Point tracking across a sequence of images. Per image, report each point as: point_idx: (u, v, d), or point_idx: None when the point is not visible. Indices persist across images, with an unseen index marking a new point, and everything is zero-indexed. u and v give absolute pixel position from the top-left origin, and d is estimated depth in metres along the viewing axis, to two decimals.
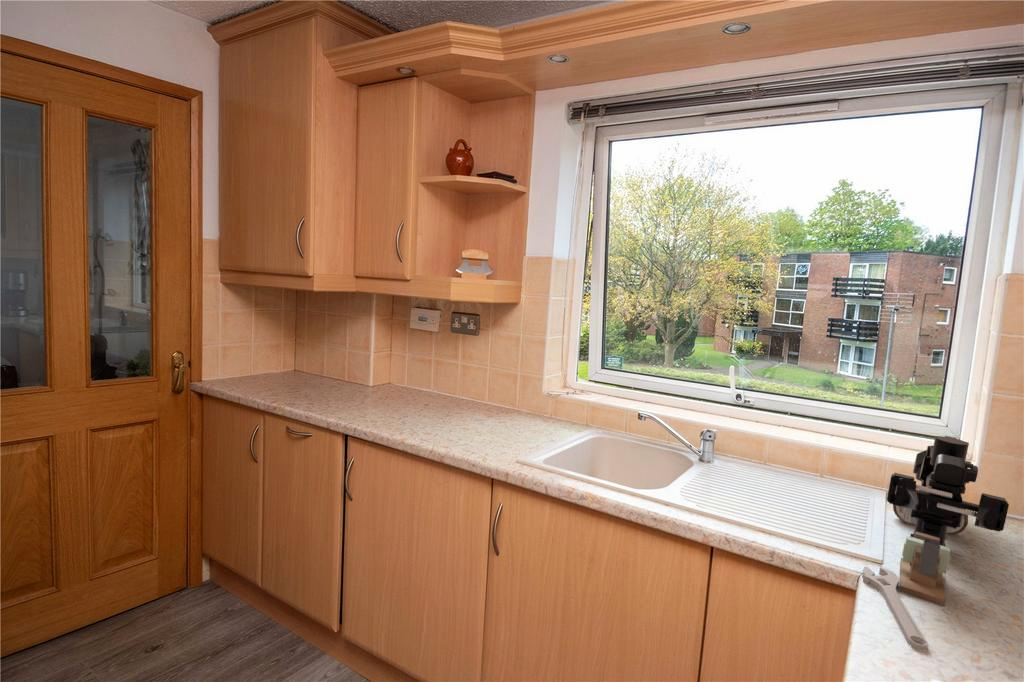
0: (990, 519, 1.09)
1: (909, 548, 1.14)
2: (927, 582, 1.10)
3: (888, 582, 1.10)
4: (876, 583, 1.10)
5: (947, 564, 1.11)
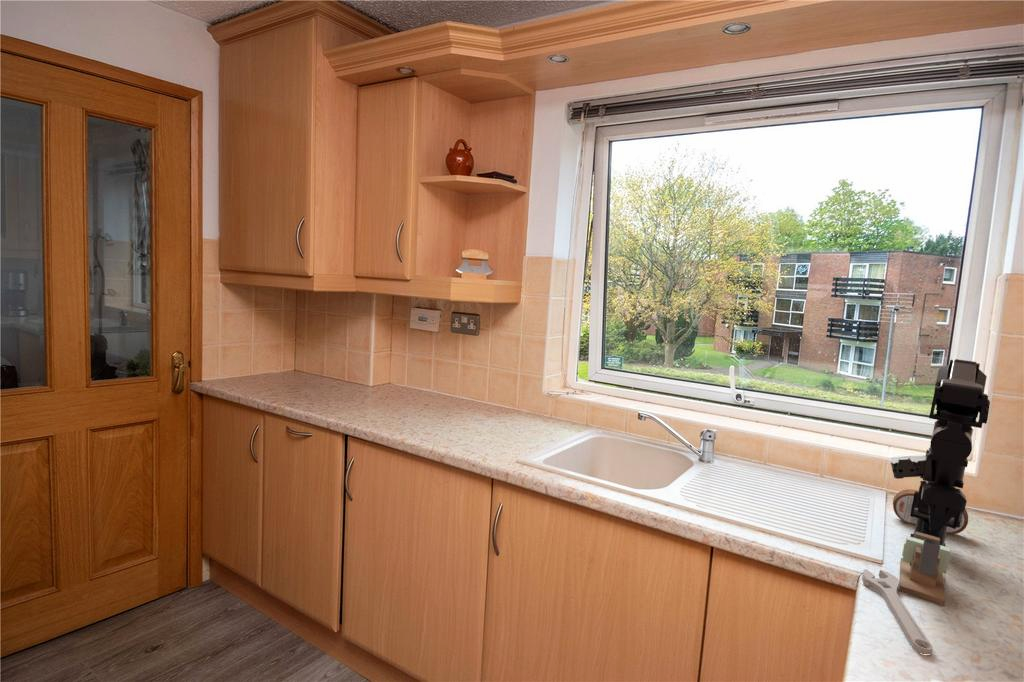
0: None
1: (909, 548, 1.14)
2: (927, 582, 1.10)
3: (889, 585, 1.09)
4: (877, 586, 1.09)
5: (947, 564, 1.11)
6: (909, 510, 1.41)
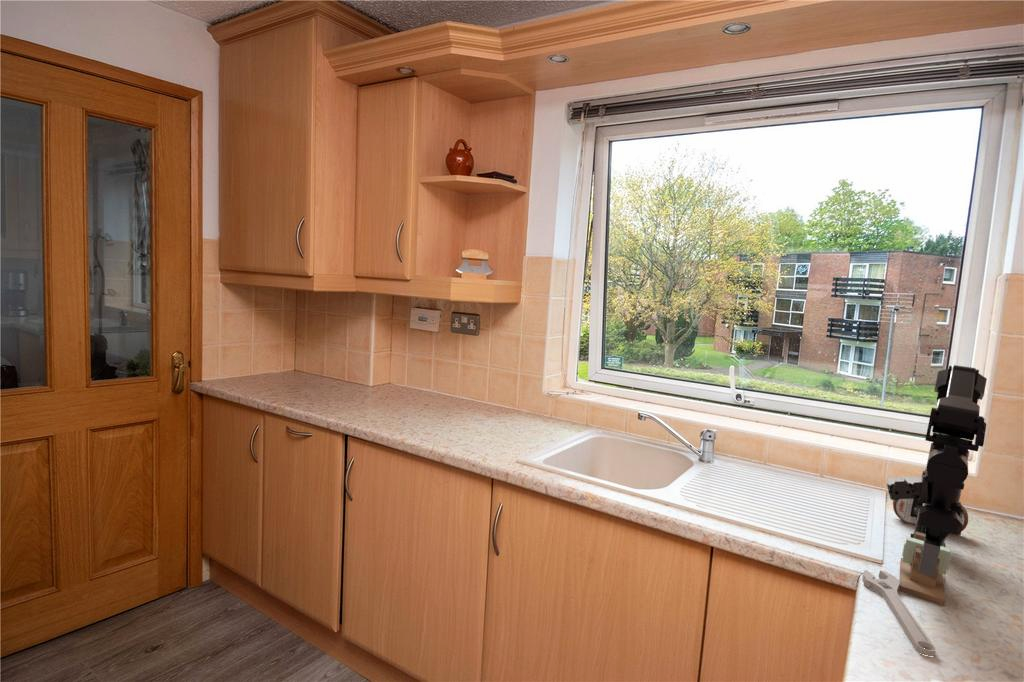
0: None
1: (908, 548, 1.14)
2: (927, 582, 1.10)
3: (889, 585, 1.09)
4: (877, 587, 1.08)
5: (947, 565, 1.11)
6: (909, 510, 1.41)
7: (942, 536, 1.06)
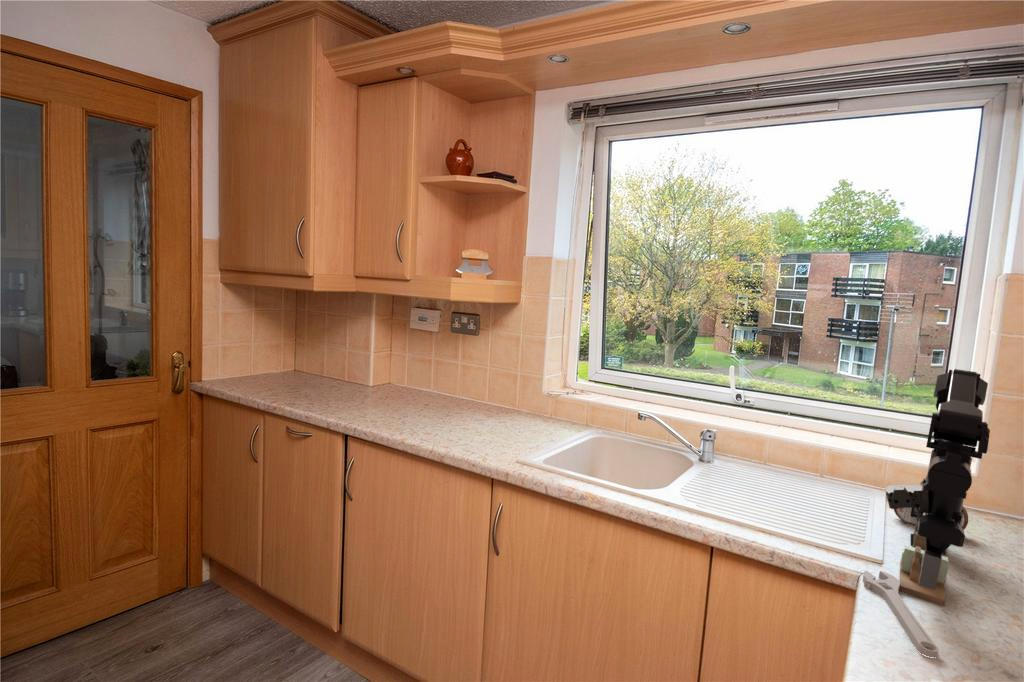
0: None
1: (907, 557, 1.15)
2: None
3: (890, 586, 1.09)
4: (878, 587, 1.08)
5: (945, 573, 1.11)
6: (909, 510, 1.41)
7: (943, 547, 1.02)
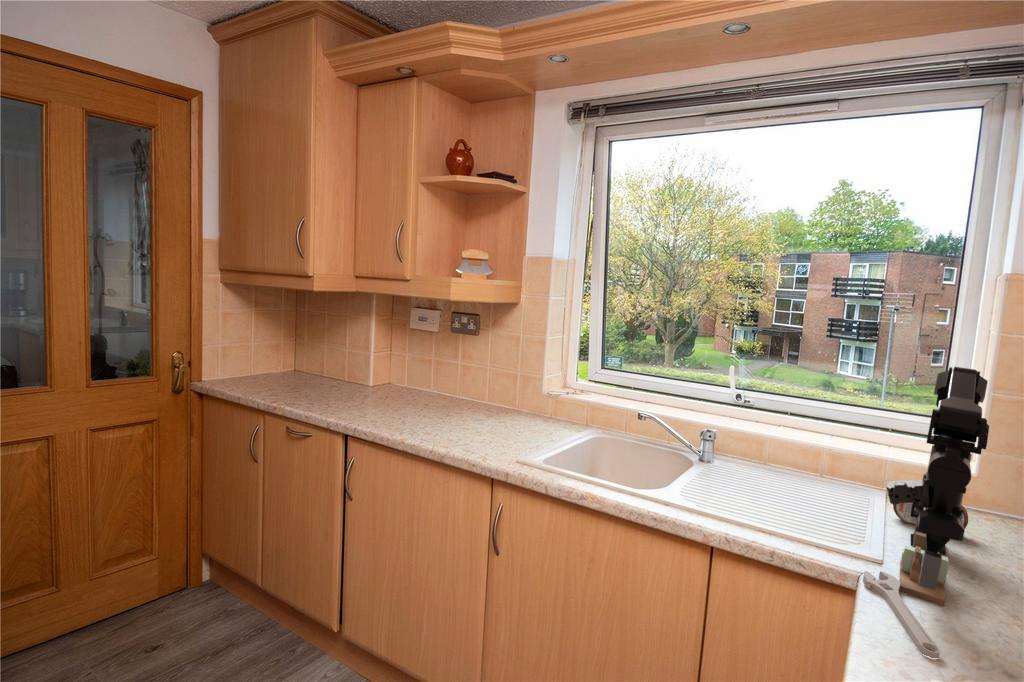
0: None
1: (907, 557, 1.15)
2: None
3: (890, 586, 1.09)
4: (879, 588, 1.08)
5: (945, 573, 1.11)
6: (909, 510, 1.41)
7: (943, 541, 1.03)
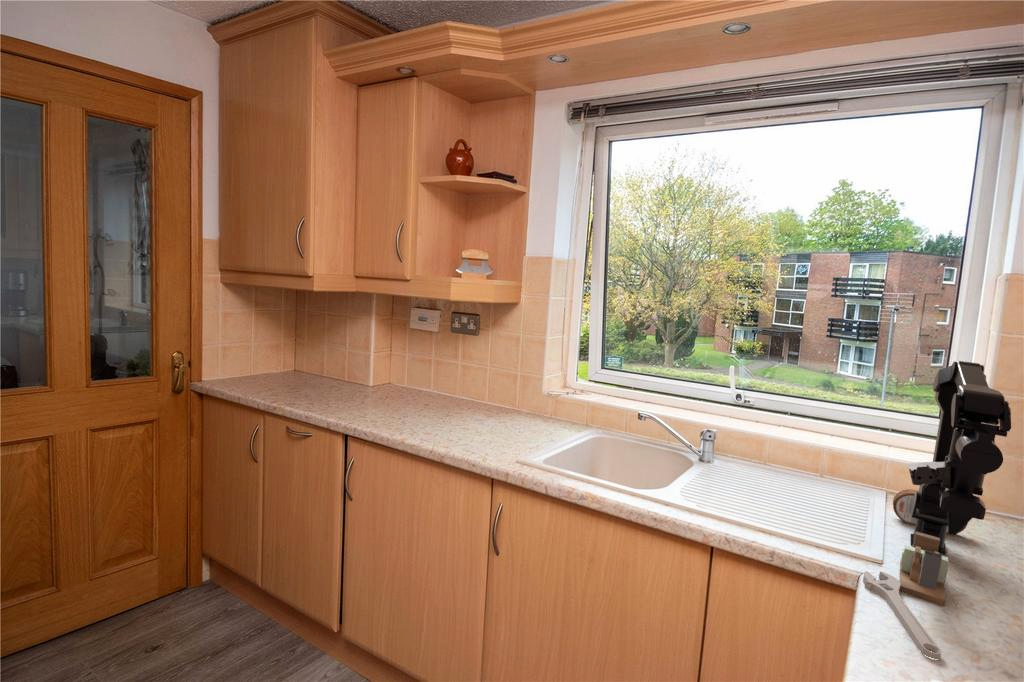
0: None
1: (907, 557, 1.15)
2: None
3: (890, 587, 1.08)
4: (879, 588, 1.08)
5: (945, 573, 1.11)
6: (909, 510, 1.41)
7: (965, 520, 1.07)
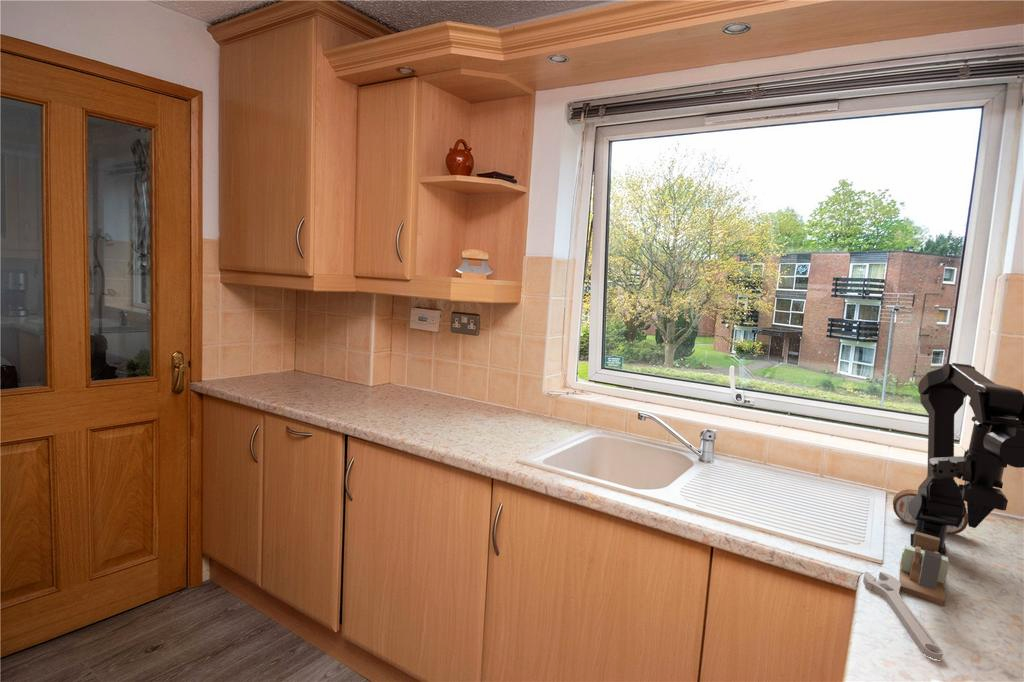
0: None
1: (907, 557, 1.15)
2: None
3: (891, 587, 1.08)
4: (879, 589, 1.08)
5: (945, 573, 1.11)
6: None
7: (985, 513, 1.10)
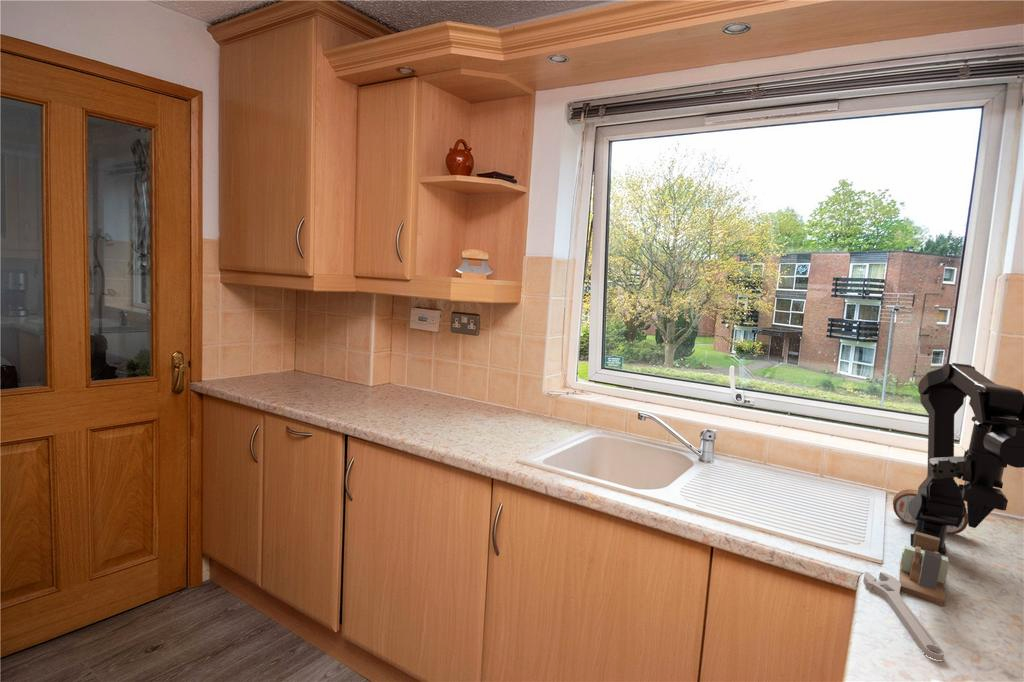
0: None
1: (907, 557, 1.15)
2: None
3: (891, 587, 1.08)
4: (880, 589, 1.08)
5: (945, 573, 1.11)
6: None
7: (985, 513, 1.10)
